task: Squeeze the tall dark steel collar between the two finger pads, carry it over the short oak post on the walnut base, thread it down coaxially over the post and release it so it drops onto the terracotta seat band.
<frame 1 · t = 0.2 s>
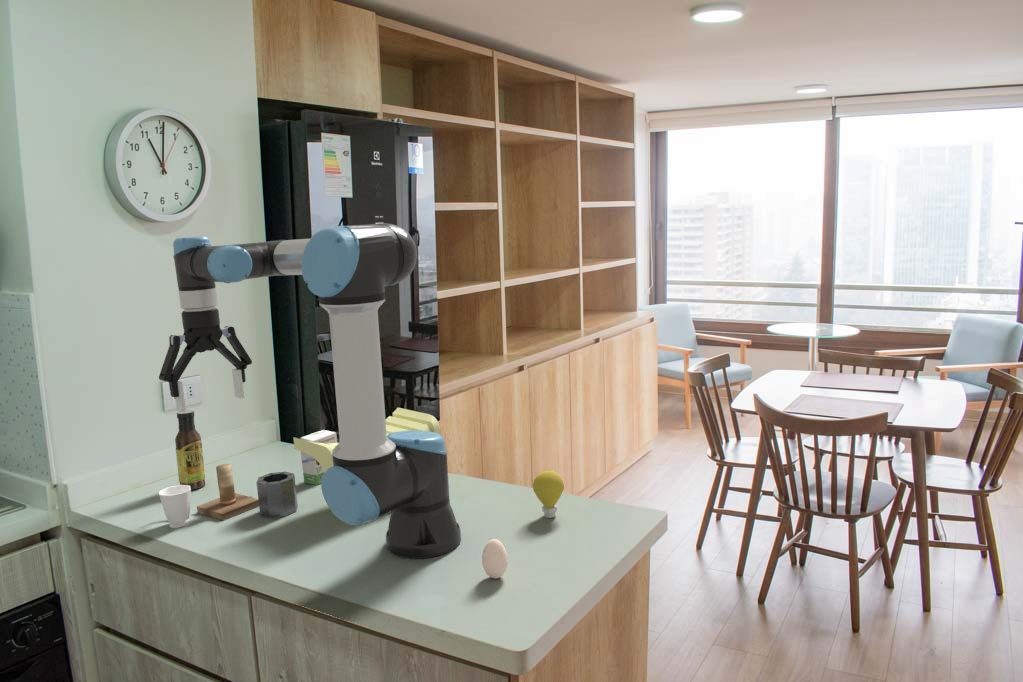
hand: (211, 404, 176), 27 cm above the worktop, fingers open, 13 cm apart
grey hollow octagonal piece: (279, 510, 185), on the worktop
slatted curved stool: (375, 500, 189), on the worktop
ink box: (322, 479, 205), on the worktop
sauce bottle: (193, 487, 204), on the worktop
post: (229, 508, 188), on the worktop
cup: (176, 523, 181), on the worktop
light bulb: (549, 516, 173), on the worktop
egg: (496, 578, 146), on the worktop
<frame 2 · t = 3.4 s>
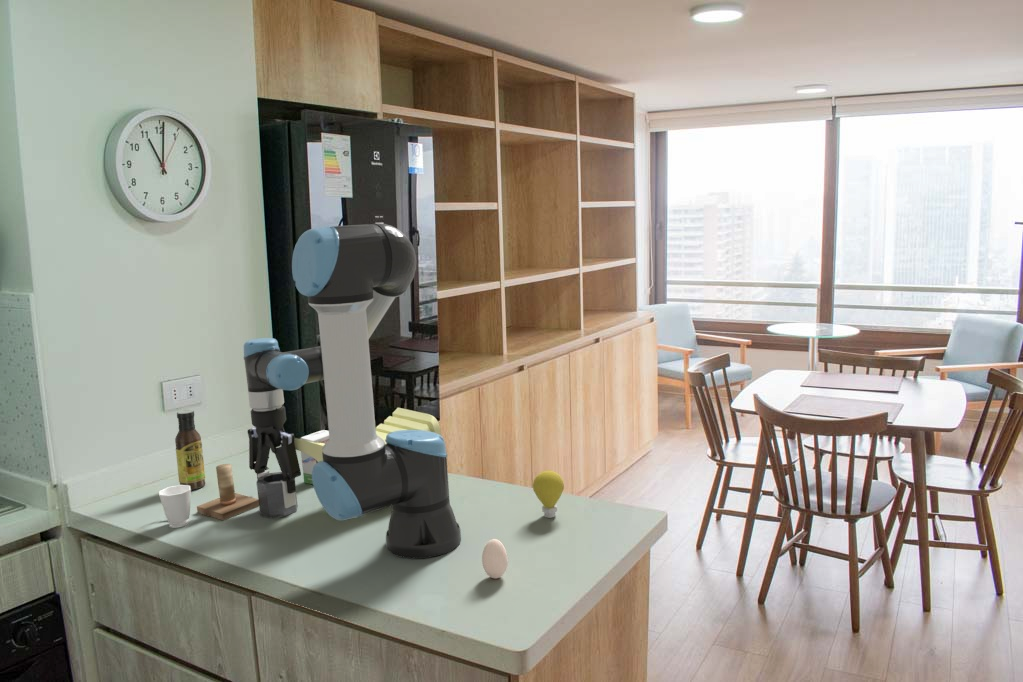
hand: (278, 502, 184), 2 cm above the worktop, fingers closed on grey hollow octagonal piece, 8 cm apart
grey hollow octagonal piece: (279, 510, 185), on the worktop, touching gripper
everything else where it was.
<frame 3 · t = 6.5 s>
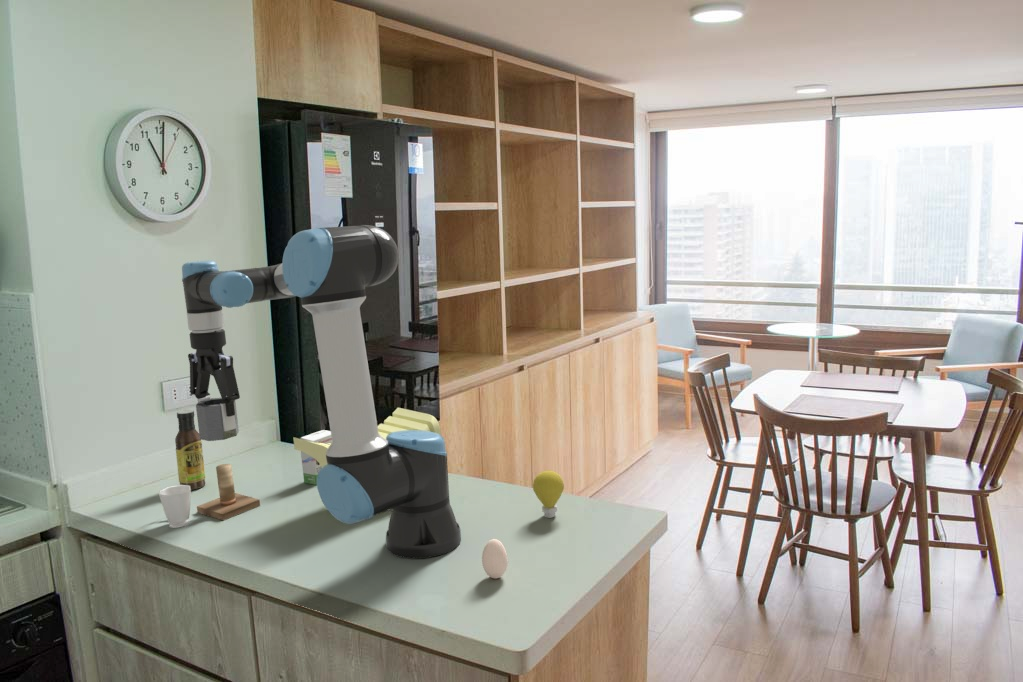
hand: (218, 427, 184), 20 cm above the worktop, fingers closed on grey hollow octagonal piece, 8 cm apart
grey hollow octagonal piece: (219, 435, 185), point 18 cm above the worktop, touching gripper
everything else where it was.
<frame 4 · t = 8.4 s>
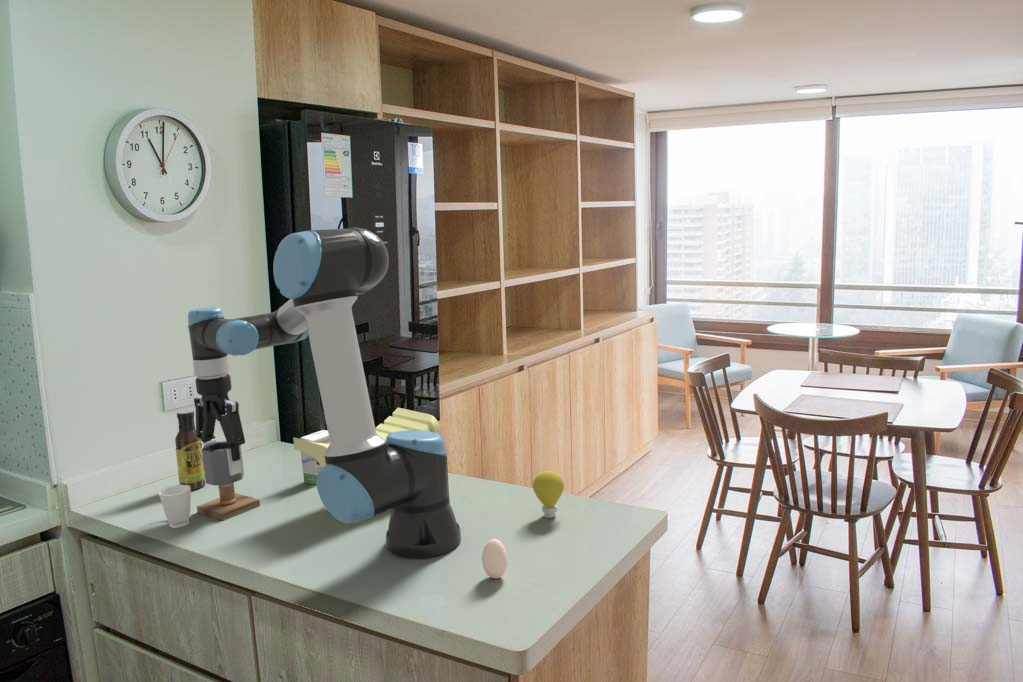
hand: (224, 470, 186), 9 cm above the worktop, fingers closed on grey hollow octagonal piece, 8 cm apart
grey hollow octagonal piece: (225, 478, 186), point 7 cm above the worktop, touching gripper
everything else where it was.
when the fingers open (7 cm above the worktop, at t = 9.9 s): grey hollow octagonal piece drops 3 cm, resting on post.
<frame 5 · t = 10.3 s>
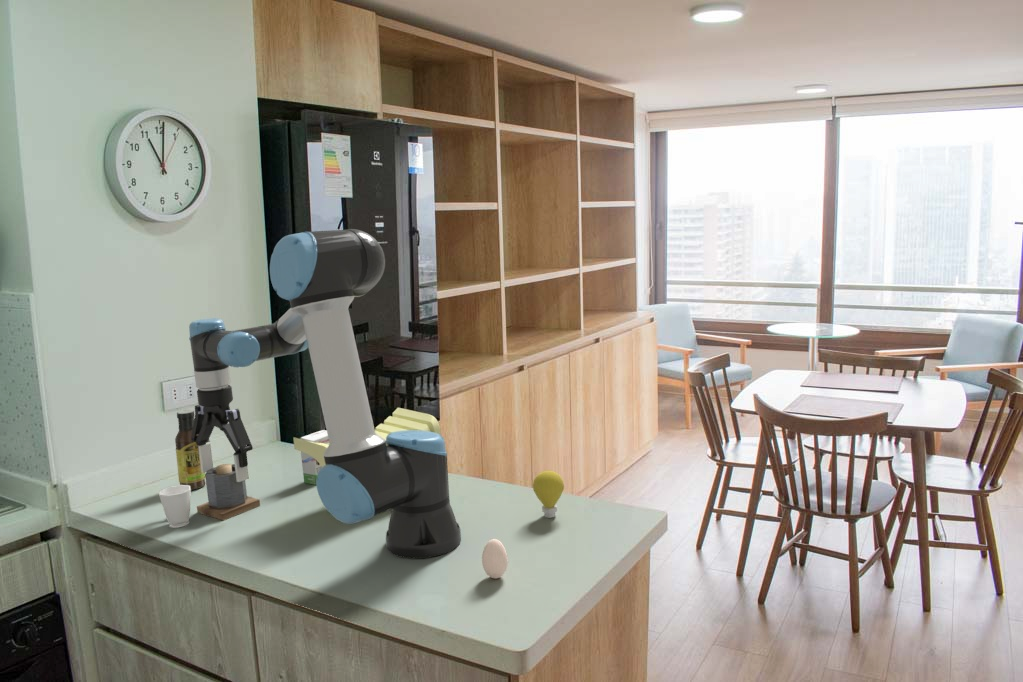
hand: (224, 475, 186), 8 cm above the worktop, fingers open, 13 cm apart
grey hollow octagonal piece: (228, 502, 187), point 1 cm above the worktop, touching post
everything else where it was.
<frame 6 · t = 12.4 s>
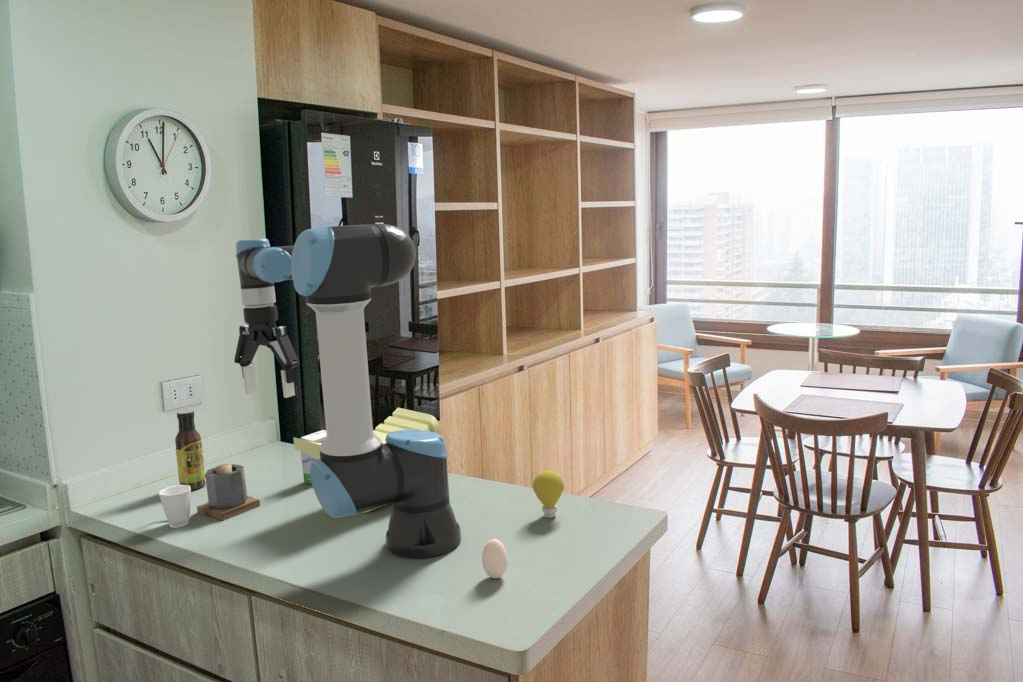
hand: (270, 394, 189), 25 cm above the worktop, fingers open, 13 cm apart
nothing on the worktop moved.
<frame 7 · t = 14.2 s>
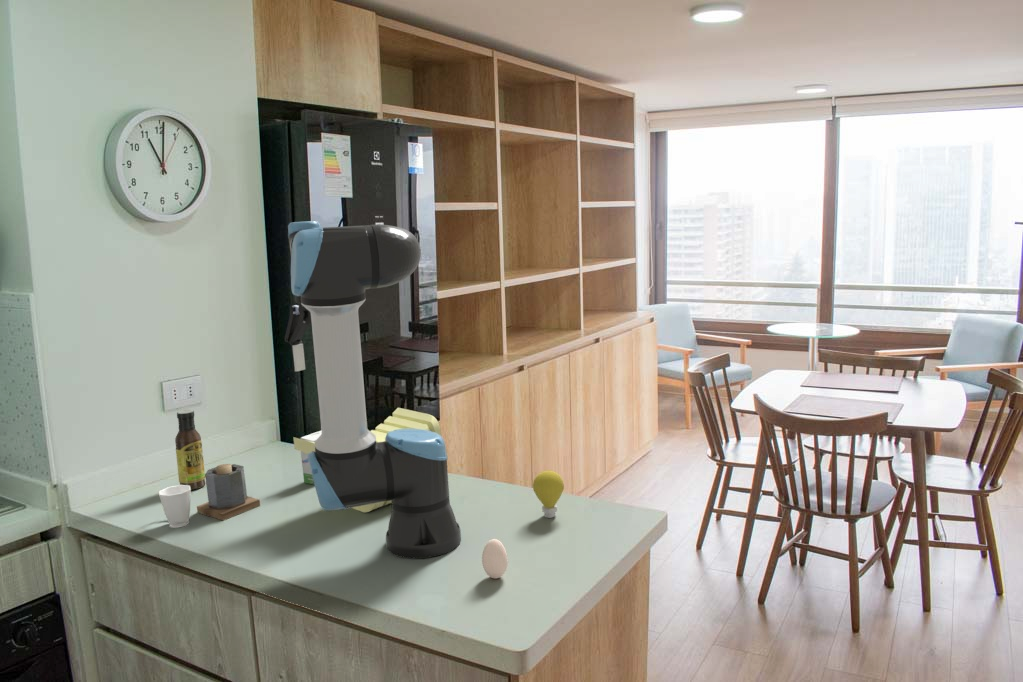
hand: (318, 372, 196), 29 cm above the worktop, fingers open, 13 cm apart
nothing on the worktop moved.
at the end: grey hollow octagonal piece 0.0 cm from the post (horizontally); grey hollow octagonal piece point 1.5 cm above the worktop; the gripper is holding nothing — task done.
